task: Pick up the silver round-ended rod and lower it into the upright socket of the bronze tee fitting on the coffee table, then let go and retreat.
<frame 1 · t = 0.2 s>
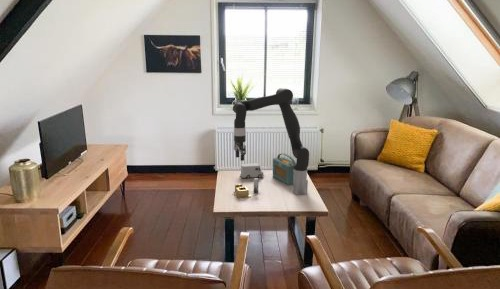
hand: (239, 158, 238), 28 cm above the table, fingers open, 8 cm apart
toy vehicle: (251, 177, 293), on the table
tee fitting: (242, 195, 253), on the table
radio: (285, 180, 286), on the table
silver round-ended rod: (255, 192, 259), on the table
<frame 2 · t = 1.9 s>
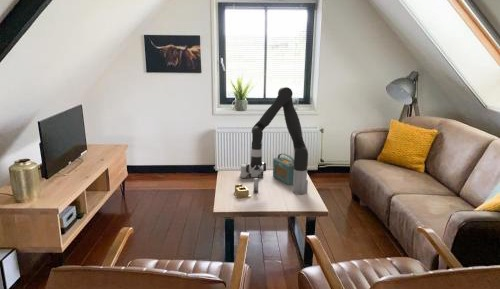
hand: (255, 177, 257), 11 cm above the table, fingers open, 8 cm apart
nothing on the table moved.
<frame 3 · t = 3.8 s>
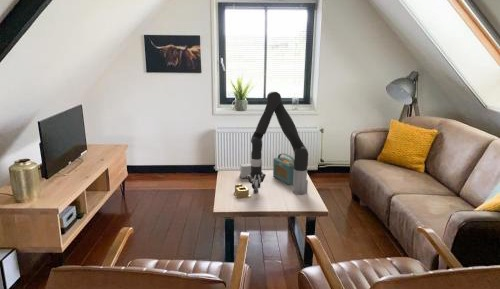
hand: (255, 188, 258), 3 cm above the table, fingers closed on silver round-ended rod, 3 cm apart
silver round-ended rod: (255, 192, 259), on the table, touching gripper
everything else where it was.
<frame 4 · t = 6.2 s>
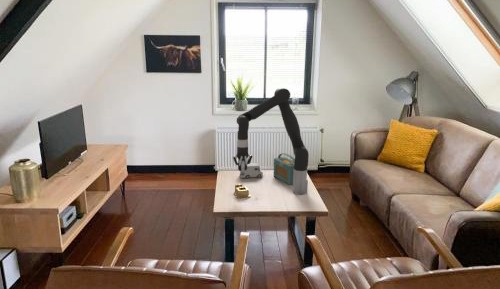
hand: (242, 170, 248), 18 cm above the table, fingers closed on silver round-ended rod, 3 cm apart
silver round-ended rod: (242, 174, 249), point 15 cm above the table, touching gripper
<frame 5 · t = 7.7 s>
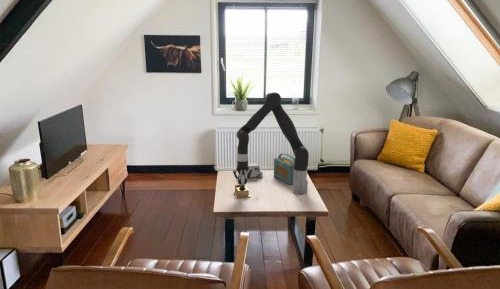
hand: (242, 183, 251), 9 cm above the table, fingers closed on silver round-ended rod, 3 cm apart
silver round-ended rod: (242, 188, 252), point 5 cm above the table, touching gripper
when the fingers open (7 cm above the table, at t = 8.9 s): silver round-ended rod drops 3 cm, resting on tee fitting.
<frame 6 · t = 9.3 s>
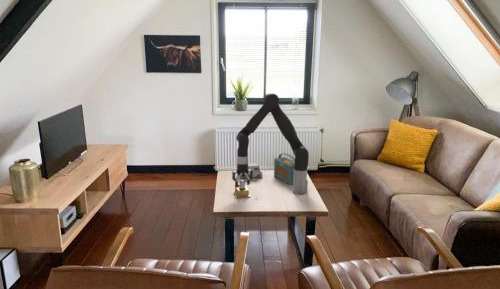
hand: (242, 185, 251), 7 cm above the table, fingers open, 7 cm apart
silver round-ended rod: (242, 194, 253), point 1 cm above the table, touching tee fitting
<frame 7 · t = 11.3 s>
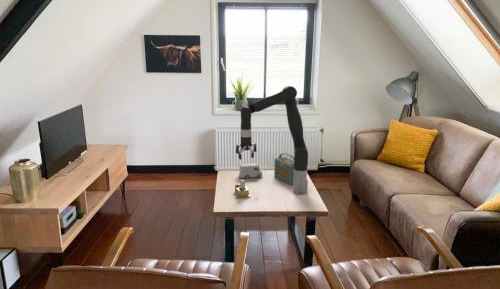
hand: (246, 158, 252), 25 cm above the table, fingers open, 8 cm apart
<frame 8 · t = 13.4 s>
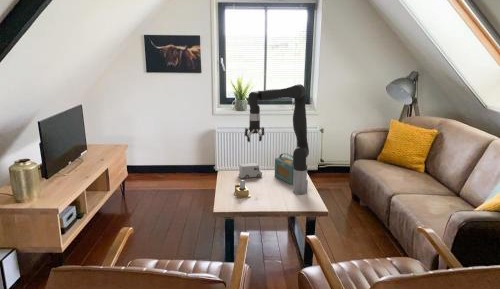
hand: (254, 141, 266), 33 cm above the table, fingers open, 8 cm apart
at the end: silver round-ended rod 0.0 cm off-centre on the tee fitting, point 0.8 cm above the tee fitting's base; silver round-ended rod tilted 0°; the gripper is holding nothing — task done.
